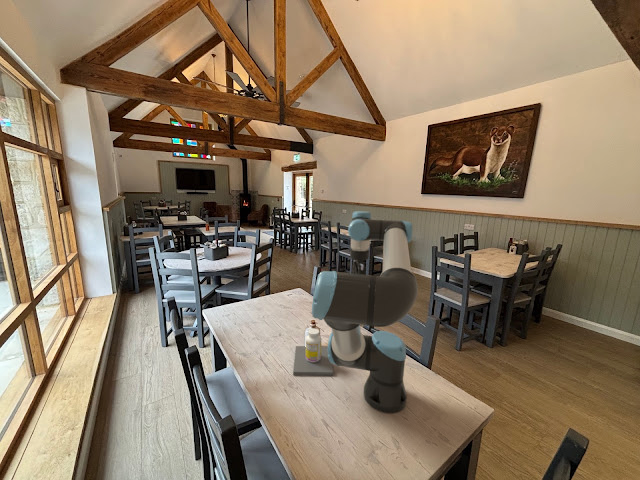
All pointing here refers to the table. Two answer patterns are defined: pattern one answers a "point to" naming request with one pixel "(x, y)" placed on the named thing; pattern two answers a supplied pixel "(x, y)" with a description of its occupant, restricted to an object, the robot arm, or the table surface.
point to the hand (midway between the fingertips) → (357, 297)
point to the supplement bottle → (313, 346)
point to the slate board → (311, 363)
